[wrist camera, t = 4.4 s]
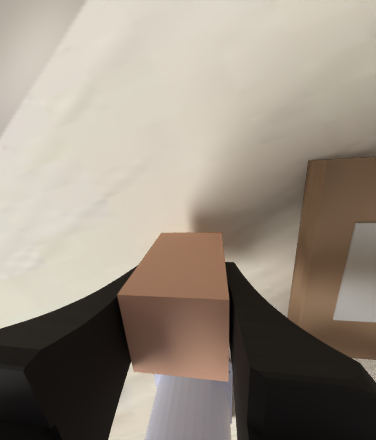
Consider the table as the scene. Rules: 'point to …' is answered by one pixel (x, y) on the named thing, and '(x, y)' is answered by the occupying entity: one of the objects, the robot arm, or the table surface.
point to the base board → (338, 256)
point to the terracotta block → (179, 308)
